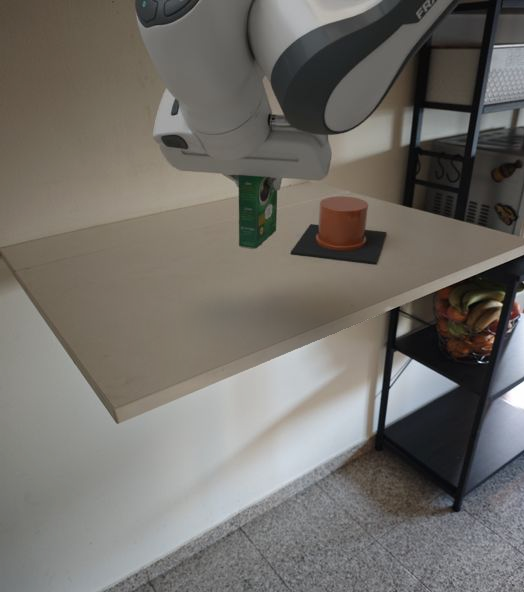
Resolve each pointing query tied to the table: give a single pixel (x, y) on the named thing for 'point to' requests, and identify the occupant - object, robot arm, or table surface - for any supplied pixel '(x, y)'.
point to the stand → (342, 223)
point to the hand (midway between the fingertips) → (259, 184)
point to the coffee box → (256, 211)
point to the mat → (362, 255)
